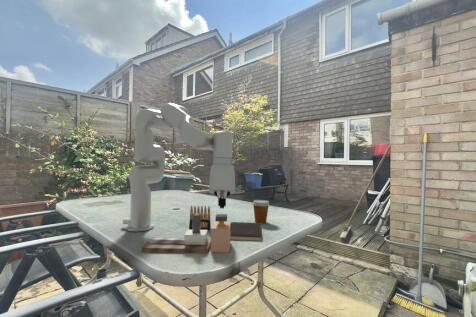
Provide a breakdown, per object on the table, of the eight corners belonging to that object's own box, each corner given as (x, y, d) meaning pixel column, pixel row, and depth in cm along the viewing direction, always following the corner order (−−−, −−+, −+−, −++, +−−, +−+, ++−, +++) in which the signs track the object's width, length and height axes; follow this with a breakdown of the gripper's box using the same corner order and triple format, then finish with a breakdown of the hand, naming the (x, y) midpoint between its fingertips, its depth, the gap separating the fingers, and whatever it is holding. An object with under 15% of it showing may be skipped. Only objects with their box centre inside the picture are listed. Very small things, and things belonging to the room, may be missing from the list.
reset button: (215, 230, 93) (215, 216, 93) (216, 227, 98) (216, 214, 98) (226, 230, 93) (226, 216, 93) (227, 227, 97) (227, 214, 98)
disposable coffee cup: (249, 220, 137) (249, 200, 138) (263, 219, 141) (263, 199, 142) (257, 225, 129) (257, 203, 129) (272, 223, 133) (272, 202, 133)
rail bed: (141, 251, 89) (141, 243, 89) (153, 240, 101) (153, 233, 101) (207, 253, 89) (207, 245, 89) (211, 242, 101) (211, 234, 101)
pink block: (210, 252, 90) (211, 228, 90) (213, 242, 100) (214, 221, 100) (229, 252, 90) (229, 228, 90) (230, 243, 100) (230, 221, 100)
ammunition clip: (188, 229, 119) (189, 205, 119) (189, 228, 120) (190, 205, 121) (210, 230, 118) (210, 206, 118) (210, 229, 120) (211, 205, 120)
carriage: (184, 245, 92) (184, 216, 92) (188, 239, 99) (188, 212, 99) (204, 245, 92) (205, 217, 92) (207, 239, 99) (207, 213, 99)
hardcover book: (260, 227, 127) (260, 223, 127) (261, 241, 104) (261, 236, 104) (230, 226, 128) (230, 221, 128) (225, 240, 105) (225, 235, 105)
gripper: (241, 162, 99) (240, 206, 99) (205, 162, 99) (204, 206, 99) (241, 162, 92) (240, 210, 91) (202, 162, 92) (202, 209, 92)
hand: (222, 207), depth 95 cm, fingers closed
